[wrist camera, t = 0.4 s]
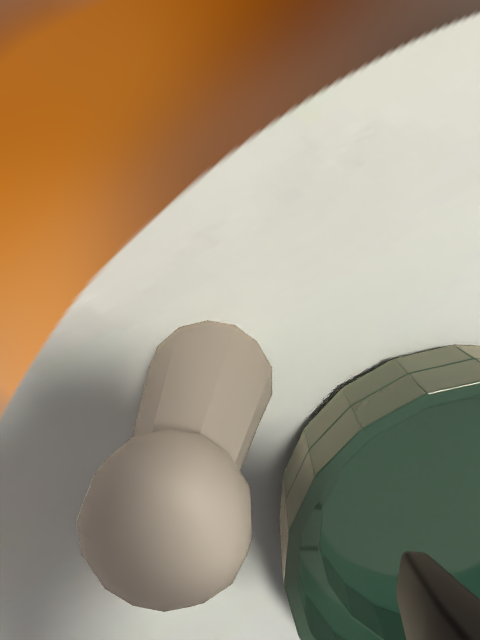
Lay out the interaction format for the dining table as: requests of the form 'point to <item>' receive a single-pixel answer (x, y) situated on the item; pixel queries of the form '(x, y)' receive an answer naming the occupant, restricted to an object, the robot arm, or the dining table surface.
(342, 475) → the shallow green tray
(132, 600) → the salt shaker
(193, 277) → the dining table surface
